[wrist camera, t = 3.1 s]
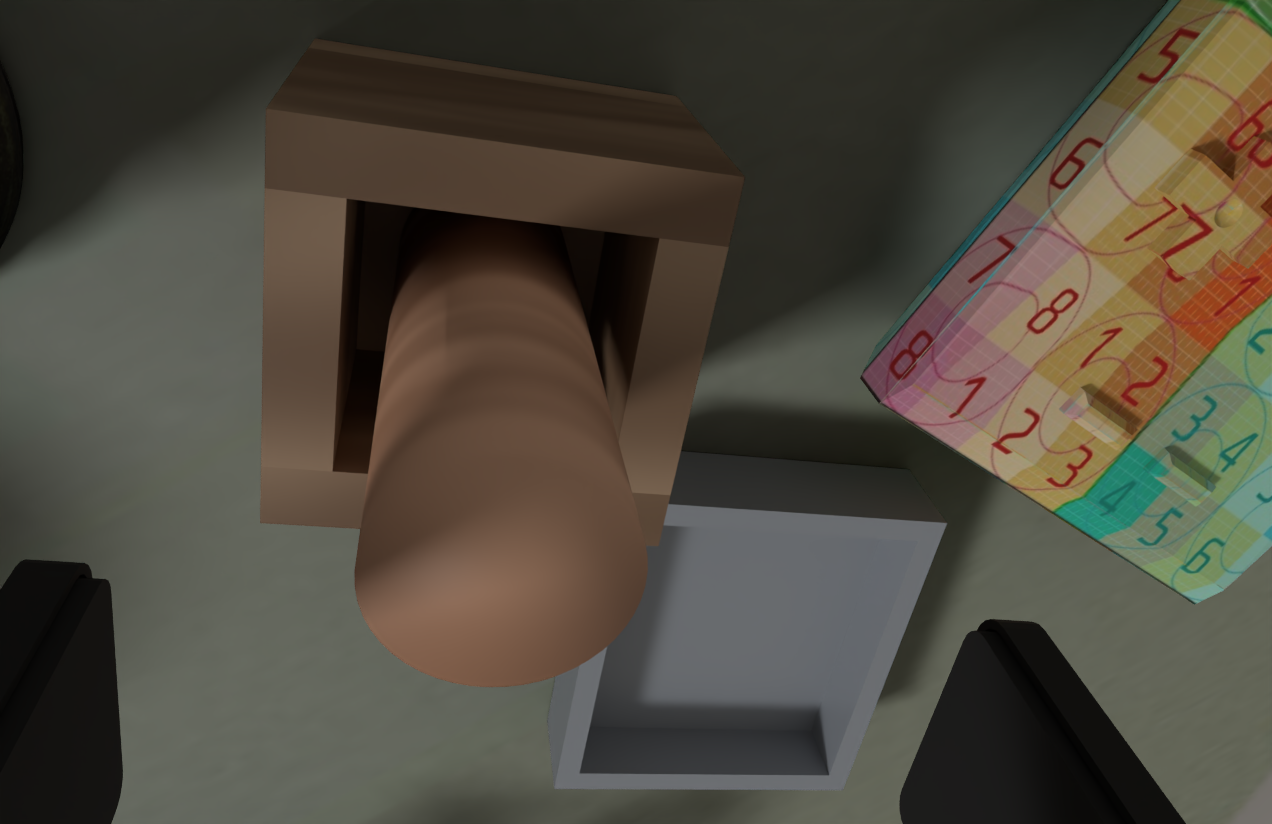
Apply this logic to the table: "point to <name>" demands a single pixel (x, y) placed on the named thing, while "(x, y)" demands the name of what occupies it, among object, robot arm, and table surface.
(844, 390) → the table surface
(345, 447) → the pin cup
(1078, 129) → the puzzle game
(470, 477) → the dowel
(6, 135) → the container
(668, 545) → the tray
